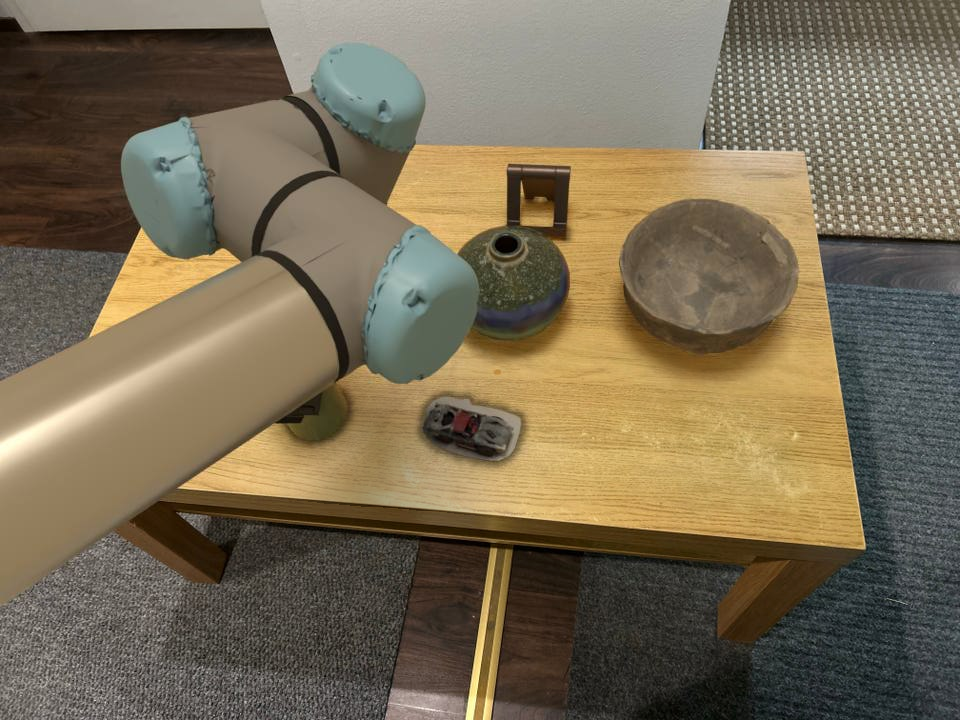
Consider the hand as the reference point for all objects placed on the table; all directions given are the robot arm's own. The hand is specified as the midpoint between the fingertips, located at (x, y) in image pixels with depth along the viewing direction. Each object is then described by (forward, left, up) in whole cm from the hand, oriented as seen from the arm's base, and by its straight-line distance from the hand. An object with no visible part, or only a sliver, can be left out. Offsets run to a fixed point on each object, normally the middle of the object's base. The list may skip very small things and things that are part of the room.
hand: (282, 362), depth 72 cm
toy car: (+13, -13, -15) cm, 24 cm away
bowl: (+45, -21, -15) cm, 52 cm away
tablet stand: (+43, +5, -15) cm, 46 cm away
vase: (+29, -4, -15) cm, 33 cm away
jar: (+1, +2, -15) cm, 15 cm away
